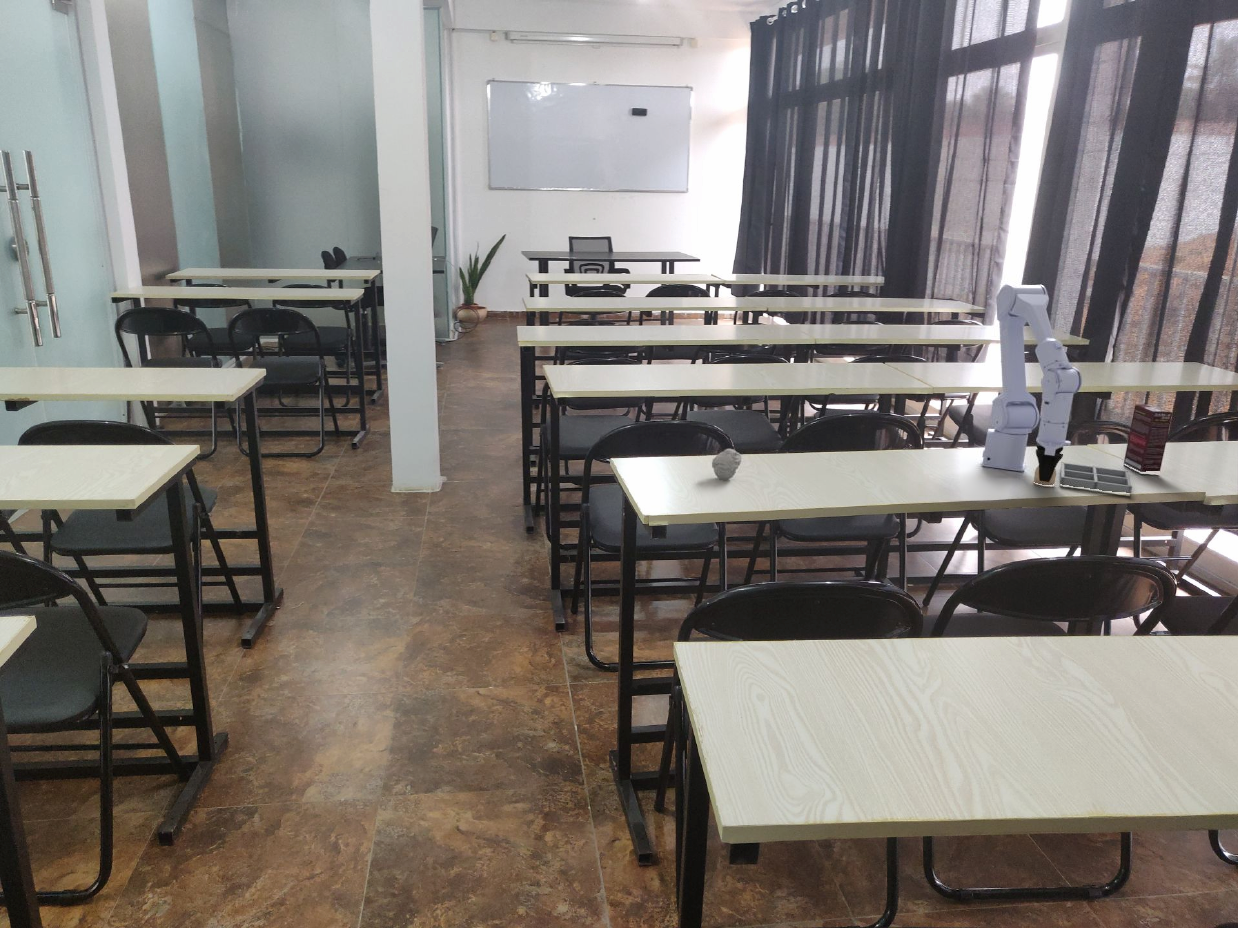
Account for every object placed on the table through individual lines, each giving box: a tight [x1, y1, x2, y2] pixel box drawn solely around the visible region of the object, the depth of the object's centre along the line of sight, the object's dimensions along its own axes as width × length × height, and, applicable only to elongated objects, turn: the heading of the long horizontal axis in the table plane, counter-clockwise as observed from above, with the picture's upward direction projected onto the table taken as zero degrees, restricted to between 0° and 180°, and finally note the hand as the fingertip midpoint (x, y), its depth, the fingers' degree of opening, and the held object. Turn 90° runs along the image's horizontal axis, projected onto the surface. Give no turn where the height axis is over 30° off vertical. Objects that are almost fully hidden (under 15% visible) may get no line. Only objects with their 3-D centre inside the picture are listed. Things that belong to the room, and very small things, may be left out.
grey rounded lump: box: [711, 448, 742, 481], centre depth 201 cm, size 6×7×7 cm
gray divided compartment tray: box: [1059, 461, 1133, 493], centre depth 207 cm, size 14×14×2 cm
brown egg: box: [1033, 465, 1057, 485], centre depth 205 cm, size 4×4×5 cm
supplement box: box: [1123, 403, 1173, 472], centre depth 217 cm, size 9×5×16 cm, turn 179°
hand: (1044, 478), depth 205 cm, fingers closed on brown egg, 4 cm apart
